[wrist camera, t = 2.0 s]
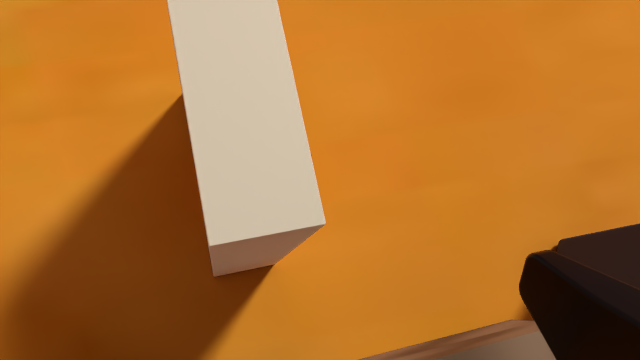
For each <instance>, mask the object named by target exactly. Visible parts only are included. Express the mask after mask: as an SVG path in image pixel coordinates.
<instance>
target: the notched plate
mask: <svg viewBox="0 0 640 360" xmlns="http://www.w3.org/2000/svg"><path fill="white" fill-rule="evenodd" d="M167 4H168V10H169V16H170V22H171V28H172V34H173V40H174V46H175V52H176V58H177V64H178V70H179V76H180V82H181V89H182V95H183V100H184V106H185V112H186V118H187V124H188V130H189V136H190V141H191V147H192V153H193V159H194V165H195V170H196V176H197V182H198V188H199V194H200V200H201V206H202V212H203V217H204V224H205V230H206V236H207V242H208V247H209V253H210V259H211V265H212V271H213V277H216V276H221V275H225V274H230V273H235V272H240V271H245V270H250V269H255V268H259V267H264V266H269V265H274V264H276V263H277V262H278V261H279V260H281V259H282V258H283V257H284V256H286V255H287V254H288V253H290V252H291V251H292V250H293V249H295V248H296V247H297V246H298V245H300V244H301V243H302V242H303V241H305V240H306V239H307V238H309V237H310V236H311V235H312V234H314V233H315V232H316V231H317V230H319V229H320V228H321V227H322V226H324V225H325V224H326V222H325V217H324V213H323V208H322V204H321V199H320V194H319V190H318V185H317V181H316V176H315V172H314V167H313V162H312V158H311V153H310V149H309V144H308V140H307V135H306V131H305V126H304V121H303V117H302V112H301V108H300V103H299V99H298V94H297V90H296V85H295V80H294V76H293V71H292V67H291V62H290V58H289V53H288V49H287V44H286V39H285V35H284V30H283V26H282V21H281V17H280V12H279V7H278V3H277V0H167Z"/></svg>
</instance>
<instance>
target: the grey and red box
mask: <svg viewBox="0 0 640 360" xmlns="http://www.w3.org/2000/svg"><path fill="white" fill-rule="evenodd" d="M557 253H558V254H561V255H563V256H565V257H567V258H570V259H572V260H574V261H577V262H579V263H581V264H583V265H586V266H588V267H590V268H592V269H595V270H597V271H599V272H601V273H604V274H606V275H608V276H611V277H613V278H615V279H617V280H620V281H622V282H624V283H626V284H629V285H631V286H633V287H635V288H638V289H640V224H635V225H630V226H625V227H620V228H615V229H610V230H605V231H601V232H596V233H591V234H586V235H581V236H576V237H571V238H566V239H562V240H560V241H559V243H558V248H557Z"/></svg>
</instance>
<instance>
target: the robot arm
mask: <svg viewBox="0 0 640 360" xmlns="http://www.w3.org/2000/svg"><path fill="white" fill-rule="evenodd" d="M519 291H520V295H521V298H522V300H523V301H524V303H525V305H526V307H527V309H528V310H529V312H530V314H531V316H532V318H533V319H534V321H535V323H536V325H537V327H538V328H539V330H540V332H541V334H542V335H543V337H544V339H545V341H546V343H547V344H548V346H549V348H550V350H551V352H552V353H553V355H554V357H555V359H556V360H640V289H638V288H635V287H633V286H631V285H629V284H626V283H624V282H622V281H620V280H617V279H615V278H613V277H611V276H608V275H606V274H604V273H601V272H599V271H597V270H595V269H592V268H590V267H588V266H586V265H583V264H581V263H579V262H577V261H574V260H572V259H570V258H567V257H565V256H563V255H561V254H558V253H556V252H554V251H551V250H544V251H539V252H535V253H531V254H529V255H528V256H527V258H526V260H525V264H524V268H523V272H522V275H521V279H520V283H519Z"/></svg>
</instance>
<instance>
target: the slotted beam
mask: <svg viewBox="0 0 640 360" xmlns="http://www.w3.org/2000/svg"><path fill="white" fill-rule="evenodd" d="M359 360H556V359H555V357H554V355H553V353H552V352H551V350H550V348H549V346H548V344H547V343H546V341H545V339H544V337H543V335H542V334H541V332H540V330H539V328H538V327H537V325H536V323H535V321H526V320H509V321H505V322H501V323H497V324H493V325H490V326H486V327H482V328H478V329H474V330H470V331H467V332H463V333H459V334H455V335H451V336H447V337H444V338H440V339H436V340H432V341H428V342H424V343H421V344H417V345H413V346H409V347H405V348H401V349H398V350H394V351H390V352H386V353H382V354H378V355H375V356H371V357H367V358H363V359H359Z"/></svg>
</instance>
